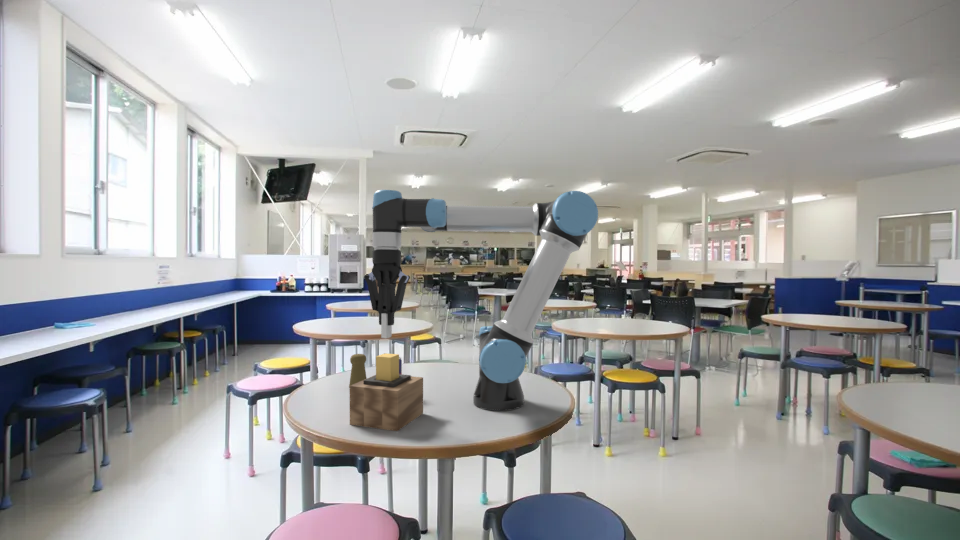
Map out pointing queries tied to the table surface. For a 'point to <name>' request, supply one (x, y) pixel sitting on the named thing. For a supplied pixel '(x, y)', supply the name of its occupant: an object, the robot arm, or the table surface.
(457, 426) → the table surface
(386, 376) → the peg
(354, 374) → the cork
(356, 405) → the socket block
